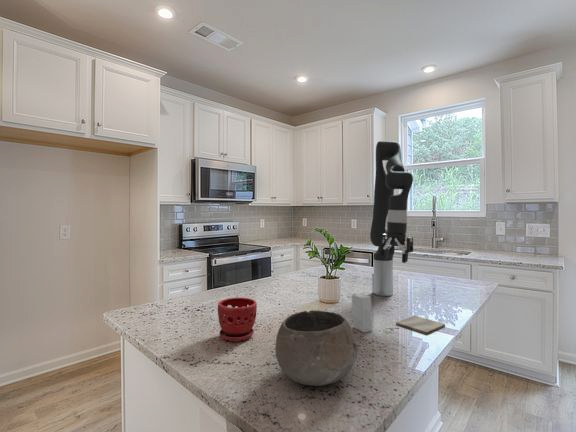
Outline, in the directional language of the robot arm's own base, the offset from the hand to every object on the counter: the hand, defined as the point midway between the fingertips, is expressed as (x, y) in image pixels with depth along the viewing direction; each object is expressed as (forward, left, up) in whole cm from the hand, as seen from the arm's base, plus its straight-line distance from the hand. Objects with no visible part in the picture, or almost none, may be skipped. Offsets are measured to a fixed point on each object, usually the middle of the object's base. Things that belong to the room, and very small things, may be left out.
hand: (395, 260), depth 130 cm
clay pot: (+17, -58, -22) cm, 64 cm away
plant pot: (-19, -62, -22) cm, 69 cm away
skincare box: (+3, -24, -22) cm, 33 cm away
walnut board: (+14, -5, -21) cm, 26 cm away
